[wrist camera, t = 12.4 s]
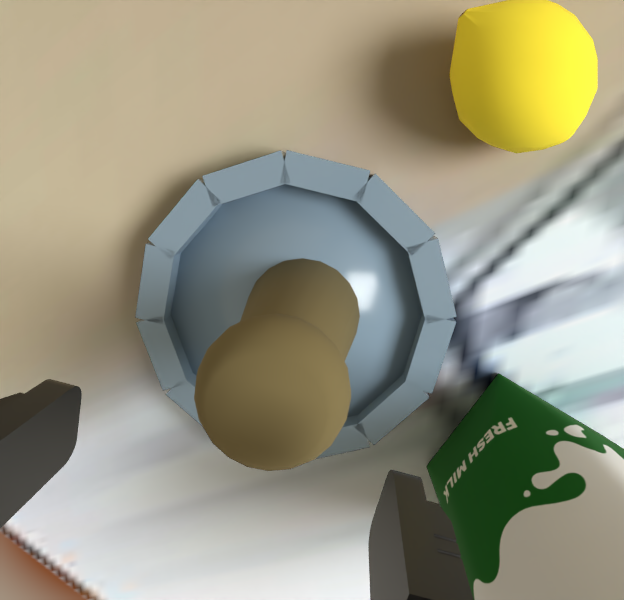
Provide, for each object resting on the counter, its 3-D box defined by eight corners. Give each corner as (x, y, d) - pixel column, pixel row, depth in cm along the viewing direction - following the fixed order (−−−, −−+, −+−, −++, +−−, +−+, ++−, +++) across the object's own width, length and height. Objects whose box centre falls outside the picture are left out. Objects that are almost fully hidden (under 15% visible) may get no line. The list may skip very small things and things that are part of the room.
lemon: (583, 95, 22) (667, 83, 17) (495, 179, 23) (548, 192, 18) (491, -25, 20) (554, -78, 15) (401, 73, 22) (431, 54, 16)
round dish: (177, 124, 23) (163, 120, 22) (485, 200, 23) (496, 201, 21) (136, 402, 28) (121, 417, 26) (396, 470, 27) (399, 489, 25)
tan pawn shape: (233, 346, 25) (146, 466, 15) (265, 242, 24) (193, 291, 13) (338, 382, 25) (326, 527, 15) (376, 280, 24) (395, 360, 13)
